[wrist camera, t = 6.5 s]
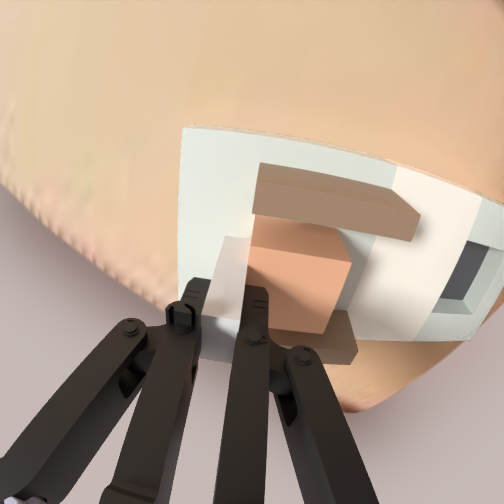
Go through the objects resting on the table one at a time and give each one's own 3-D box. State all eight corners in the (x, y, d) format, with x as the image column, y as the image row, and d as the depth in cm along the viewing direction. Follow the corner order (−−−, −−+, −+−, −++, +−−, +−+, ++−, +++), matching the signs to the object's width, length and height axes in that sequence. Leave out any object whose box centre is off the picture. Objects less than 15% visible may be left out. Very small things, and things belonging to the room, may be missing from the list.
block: (255, 213, 16) (250, 245, 13) (336, 227, 17) (352, 262, 13) (243, 282, 19) (237, 323, 15) (315, 292, 19) (322, 334, 16)
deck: (194, 124, 16) (155, 136, 11) (517, 210, 17) (559, 243, 11) (186, 297, 23) (165, 355, 18) (460, 324, 24) (484, 367, 18)
